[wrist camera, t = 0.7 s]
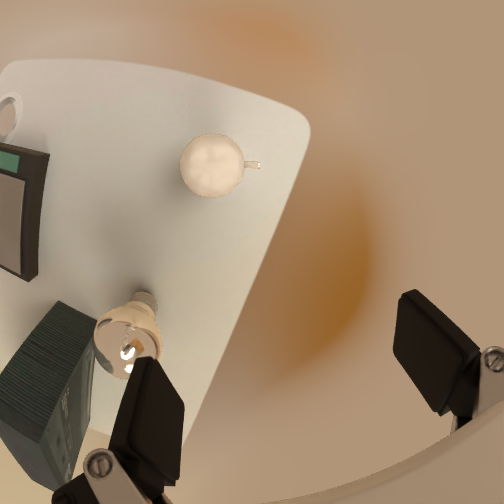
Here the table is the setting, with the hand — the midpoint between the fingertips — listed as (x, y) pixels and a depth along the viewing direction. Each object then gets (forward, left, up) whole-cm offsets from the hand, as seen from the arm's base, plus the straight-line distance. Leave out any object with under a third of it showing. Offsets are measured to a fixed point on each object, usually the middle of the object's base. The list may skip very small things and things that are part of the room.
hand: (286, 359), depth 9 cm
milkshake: (-6, -2, -20) cm, 21 cm away
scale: (-4, -31, -20) cm, 37 cm away
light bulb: (+9, -12, -20) cm, 25 cm away
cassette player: (+24, -29, -20) cm, 43 cm away
